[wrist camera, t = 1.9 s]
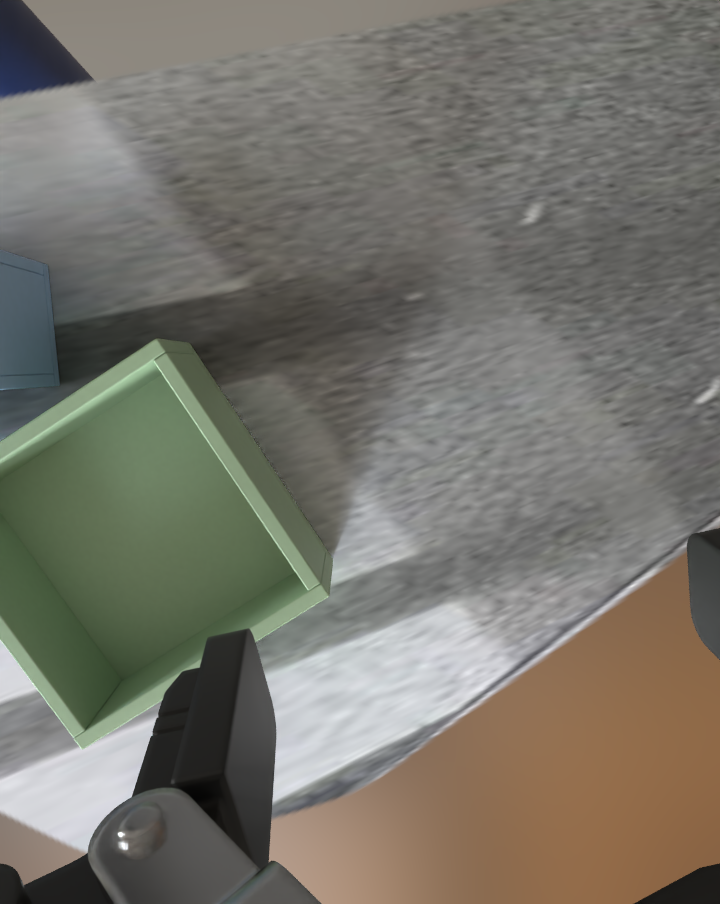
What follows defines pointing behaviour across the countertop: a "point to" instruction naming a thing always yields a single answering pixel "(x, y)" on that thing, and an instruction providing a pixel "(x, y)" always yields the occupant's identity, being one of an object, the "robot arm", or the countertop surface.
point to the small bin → (26, 325)
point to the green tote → (142, 539)
